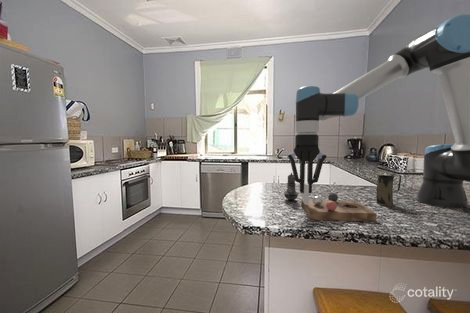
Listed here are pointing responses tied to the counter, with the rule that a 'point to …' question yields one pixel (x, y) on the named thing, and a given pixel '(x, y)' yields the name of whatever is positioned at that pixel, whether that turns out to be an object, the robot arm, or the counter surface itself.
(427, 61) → the robot arm
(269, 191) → the counter surface
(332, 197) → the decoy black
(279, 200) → the counter surface
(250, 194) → the counter surface
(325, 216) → the wooden board
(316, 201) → the steel ball
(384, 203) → the mug
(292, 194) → the salt shaker
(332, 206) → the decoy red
